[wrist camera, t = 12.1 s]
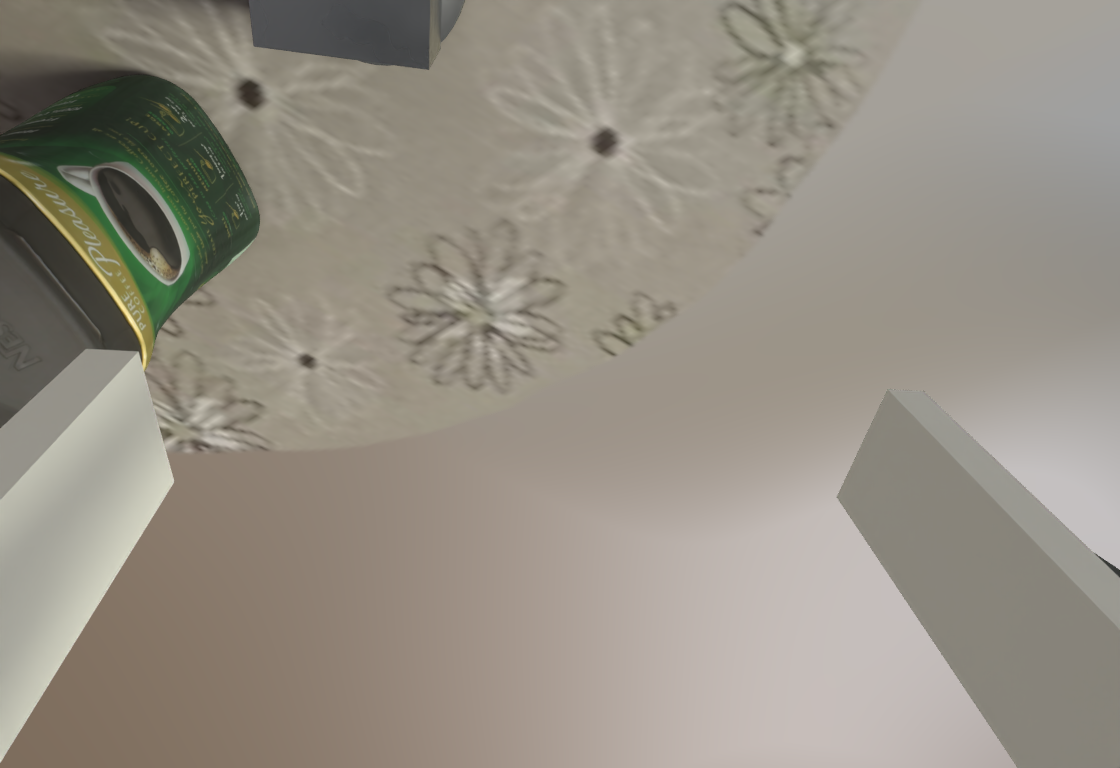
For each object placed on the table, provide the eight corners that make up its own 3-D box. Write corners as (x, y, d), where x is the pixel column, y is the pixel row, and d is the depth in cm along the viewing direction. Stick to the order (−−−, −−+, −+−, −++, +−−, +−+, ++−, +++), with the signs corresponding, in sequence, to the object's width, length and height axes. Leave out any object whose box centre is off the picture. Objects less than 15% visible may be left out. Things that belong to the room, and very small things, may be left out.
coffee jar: (36, 107, 31) (-409, 241, 16) (182, 53, 30) (-129, 136, 15) (161, 280, 36) (-79, 507, 21) (287, 237, 36) (138, 438, 20)
